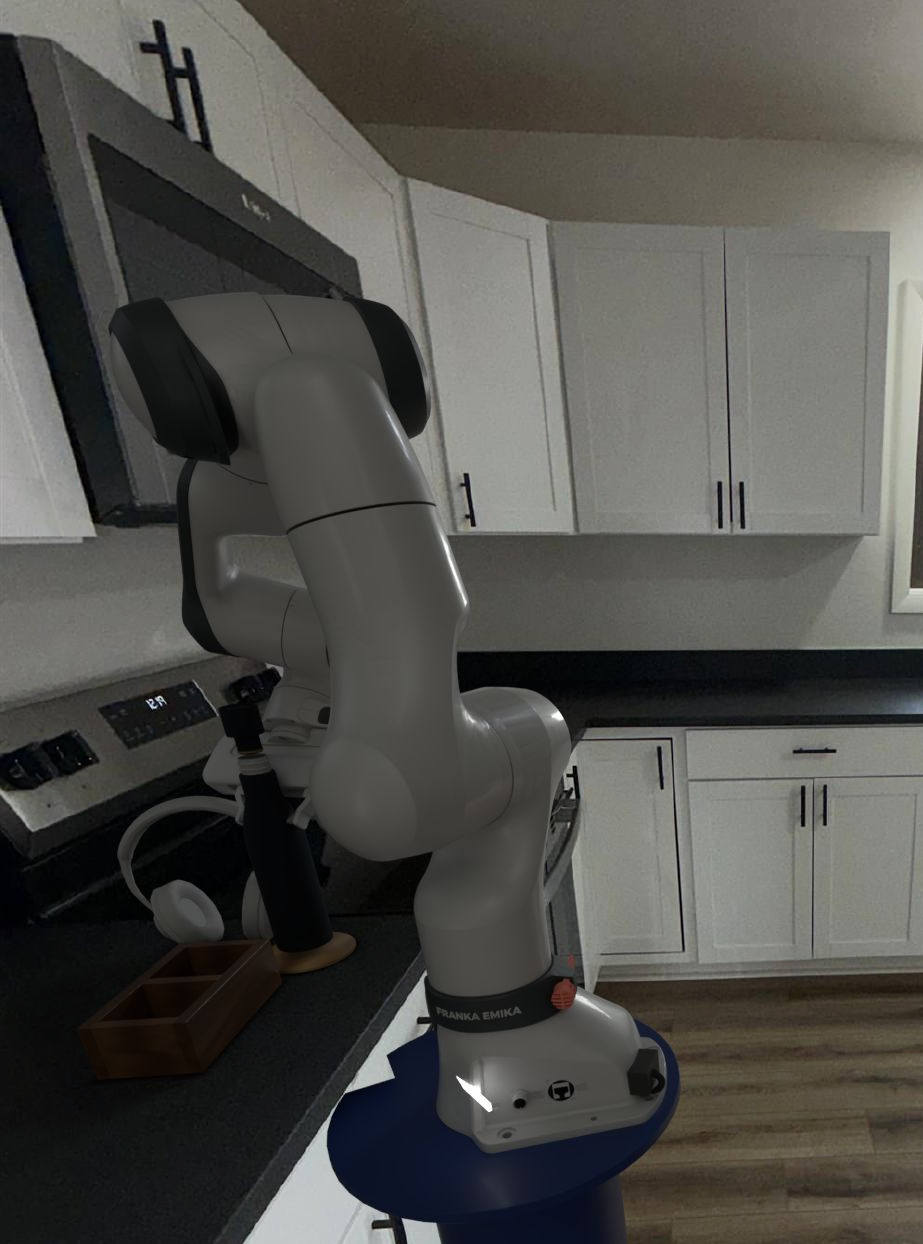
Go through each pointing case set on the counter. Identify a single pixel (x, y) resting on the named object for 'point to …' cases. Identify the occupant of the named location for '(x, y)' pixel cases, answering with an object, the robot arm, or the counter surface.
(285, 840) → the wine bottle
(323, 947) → the coaster
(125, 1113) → the counter surface
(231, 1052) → the counter surface
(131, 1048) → the wooden compartment tray
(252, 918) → the headphones
